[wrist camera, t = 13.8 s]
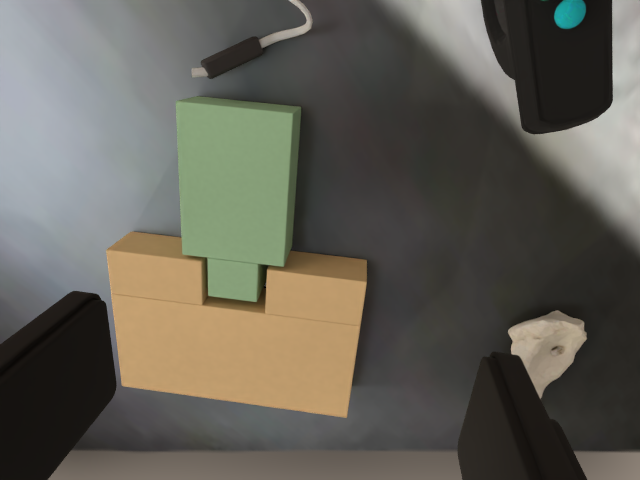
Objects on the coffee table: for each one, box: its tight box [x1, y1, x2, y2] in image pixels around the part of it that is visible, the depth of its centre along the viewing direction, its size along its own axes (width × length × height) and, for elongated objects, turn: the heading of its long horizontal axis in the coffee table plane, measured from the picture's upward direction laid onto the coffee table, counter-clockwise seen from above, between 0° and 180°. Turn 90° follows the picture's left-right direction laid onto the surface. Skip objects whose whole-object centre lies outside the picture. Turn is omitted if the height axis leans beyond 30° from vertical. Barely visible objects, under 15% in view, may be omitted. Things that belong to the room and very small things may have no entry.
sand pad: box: [106, 232, 367, 418], centre depth 33 cm, size 18×12×4 cm, turn 85°
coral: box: [508, 310, 587, 399], centre depth 32 cm, size 6×10×4 cm, turn 170°
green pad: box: [176, 96, 301, 302], centre depth 29 cm, size 7×13×4 cm, turn 175°
